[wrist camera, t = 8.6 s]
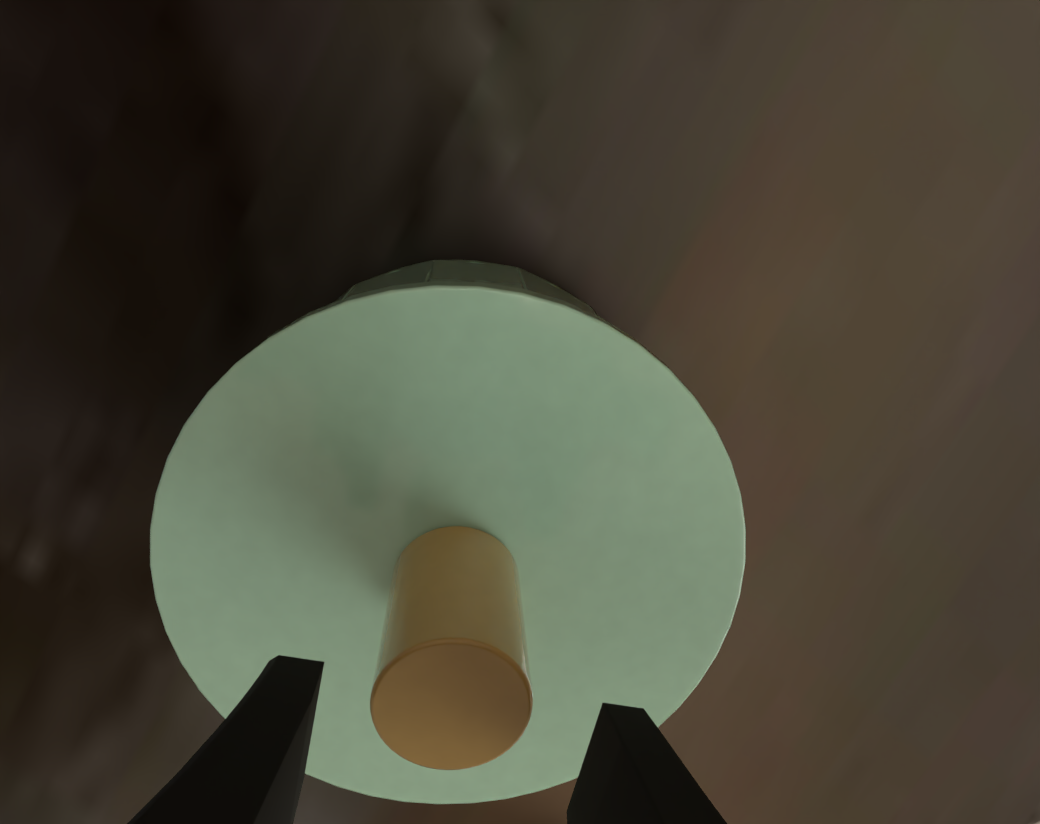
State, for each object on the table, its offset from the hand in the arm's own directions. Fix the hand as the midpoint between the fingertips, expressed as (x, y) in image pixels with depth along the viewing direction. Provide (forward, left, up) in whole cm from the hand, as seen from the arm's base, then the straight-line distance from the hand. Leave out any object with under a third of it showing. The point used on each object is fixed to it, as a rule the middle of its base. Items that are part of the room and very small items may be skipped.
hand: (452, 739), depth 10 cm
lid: (0, 0, -4) cm, 4 cm away
